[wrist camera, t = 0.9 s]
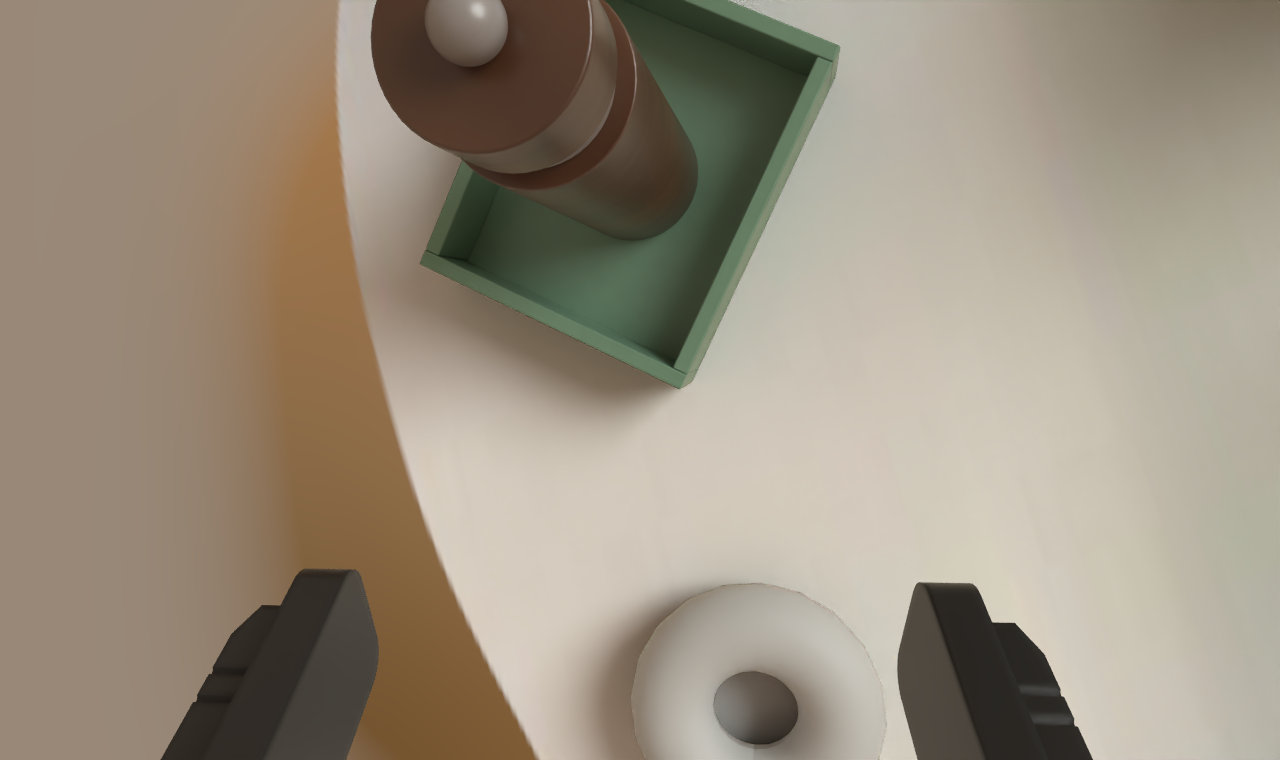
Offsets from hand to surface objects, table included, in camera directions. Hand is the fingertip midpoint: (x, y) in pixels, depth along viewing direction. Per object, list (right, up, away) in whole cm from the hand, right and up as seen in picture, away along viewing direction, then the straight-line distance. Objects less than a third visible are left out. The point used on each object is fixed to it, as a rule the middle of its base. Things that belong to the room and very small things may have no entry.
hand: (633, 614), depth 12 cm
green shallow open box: (0, +12, +22) cm, 24 cm away
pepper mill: (0, +12, +21) cm, 24 cm away
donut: (+5, -9, +22) cm, 25 cm away
